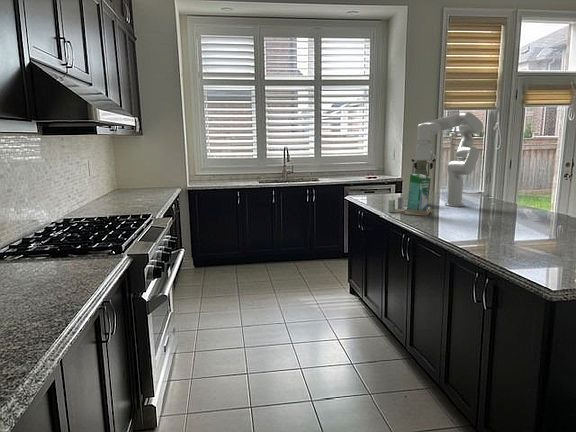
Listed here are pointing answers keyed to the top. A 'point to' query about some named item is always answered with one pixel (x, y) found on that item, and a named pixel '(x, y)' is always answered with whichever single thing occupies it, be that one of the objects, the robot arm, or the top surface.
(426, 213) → the carton sled
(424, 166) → the thermos
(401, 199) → the cube sled
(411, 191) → the milk carton
